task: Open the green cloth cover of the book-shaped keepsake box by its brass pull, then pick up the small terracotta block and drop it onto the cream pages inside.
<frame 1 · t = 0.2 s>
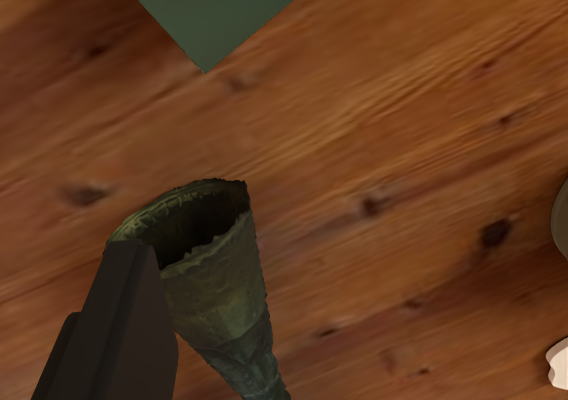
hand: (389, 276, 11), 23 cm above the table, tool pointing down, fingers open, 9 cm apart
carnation: (242, 359, 44), on the table
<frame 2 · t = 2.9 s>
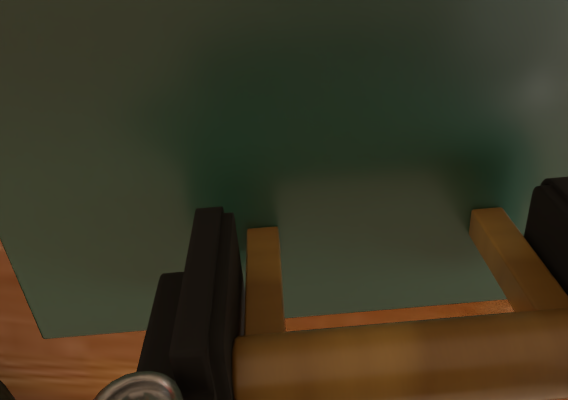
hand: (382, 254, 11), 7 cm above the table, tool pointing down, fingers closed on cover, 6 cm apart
cover: (401, 72, 8), point 8 cm above the table, hinge at 0.0°, touching gripper
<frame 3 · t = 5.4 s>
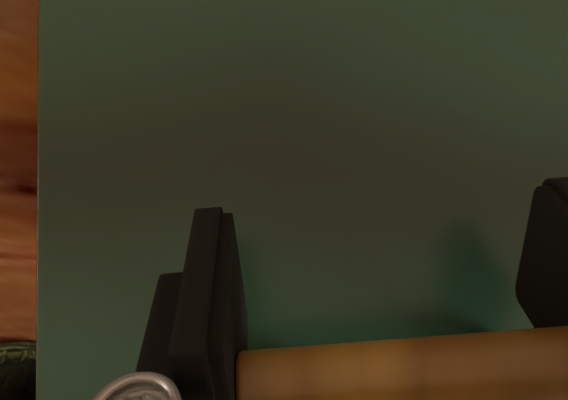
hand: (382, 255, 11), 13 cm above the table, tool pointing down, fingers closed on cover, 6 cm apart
cover: (372, 164, 12), point 11 cm above the table, hinge at 41.4°, touching gripper
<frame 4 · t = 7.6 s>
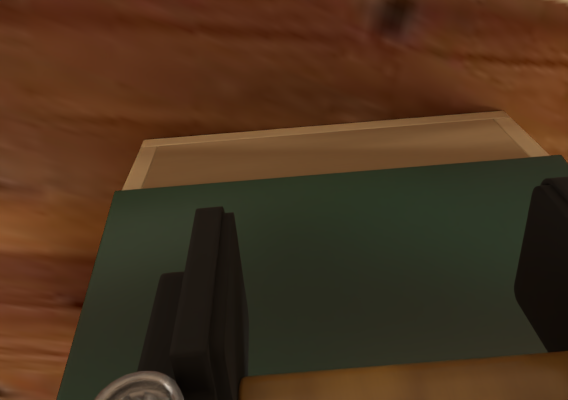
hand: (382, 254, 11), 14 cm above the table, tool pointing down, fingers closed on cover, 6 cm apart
cover: (371, 282, 13), point 12 cm above the table, hinge at 78.9°, touching gripper
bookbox: (327, 236, 28), on the table
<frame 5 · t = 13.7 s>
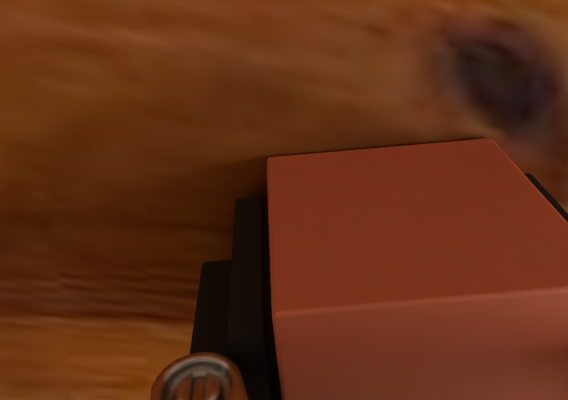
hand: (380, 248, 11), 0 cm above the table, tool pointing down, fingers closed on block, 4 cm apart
block: (377, 238, 12), on the table, touching gripper
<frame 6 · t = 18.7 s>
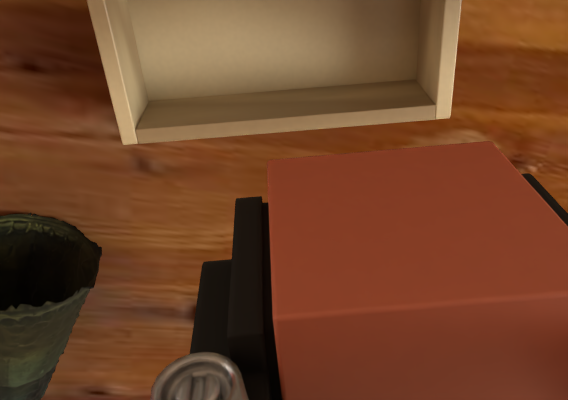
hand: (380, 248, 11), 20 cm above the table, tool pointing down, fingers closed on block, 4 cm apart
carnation: (1, 381, 42), on the table
block: (377, 240, 12), point 20 cm above the table, touching gripper
when the fingers open (1 cm above the table, at t = 23.6 s): block stays where it is, resting on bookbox.
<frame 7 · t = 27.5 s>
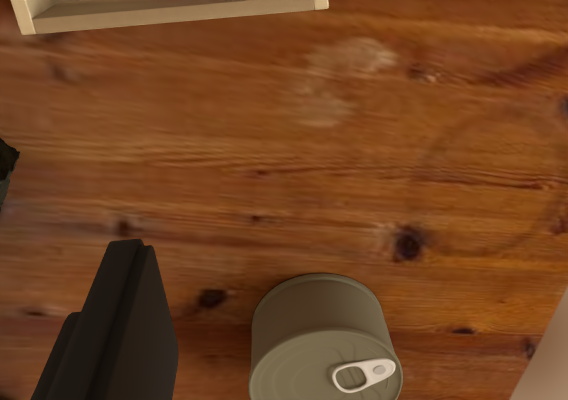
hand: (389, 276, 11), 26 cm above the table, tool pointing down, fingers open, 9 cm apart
can: (317, 322, 47), on the table
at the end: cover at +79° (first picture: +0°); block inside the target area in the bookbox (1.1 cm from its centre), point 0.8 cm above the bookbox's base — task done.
